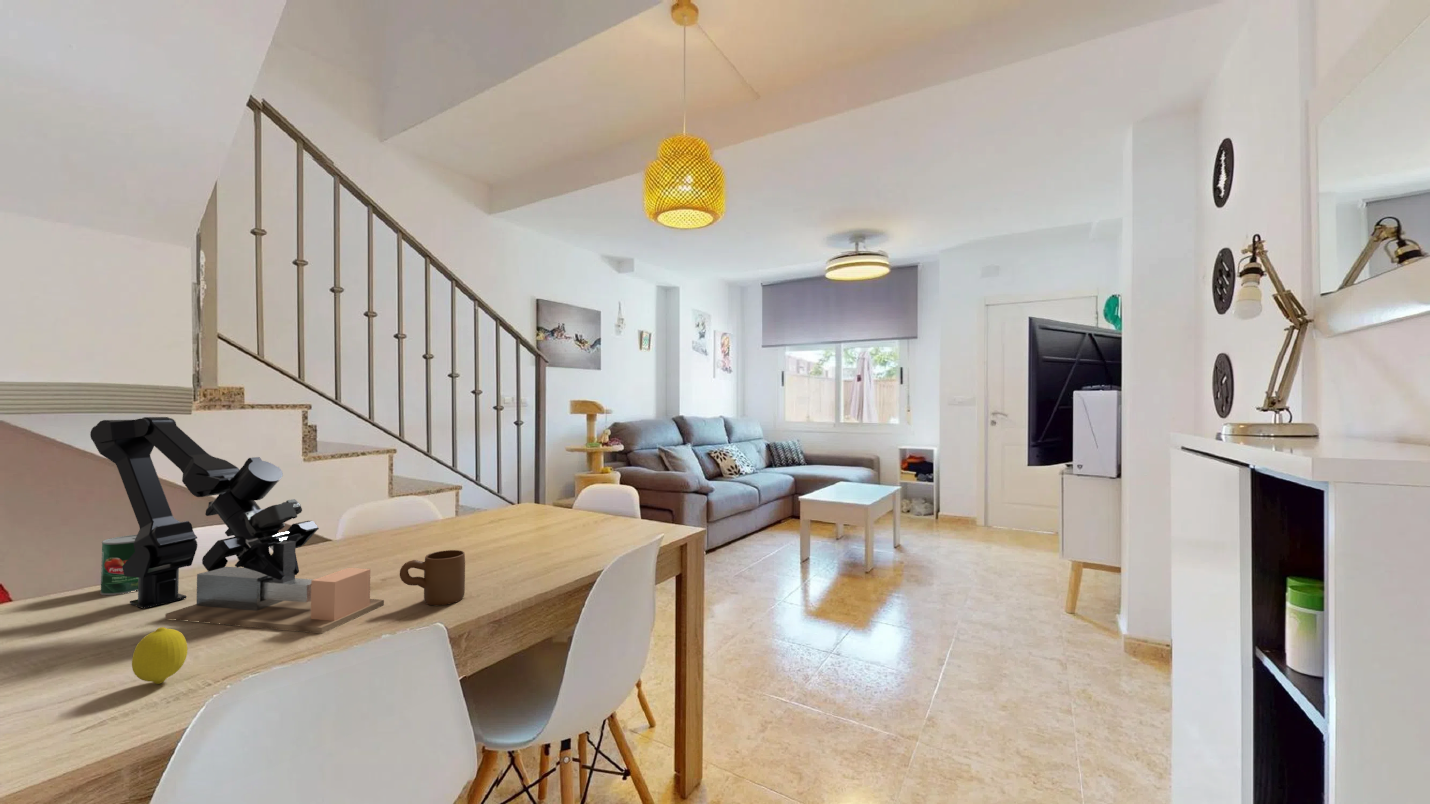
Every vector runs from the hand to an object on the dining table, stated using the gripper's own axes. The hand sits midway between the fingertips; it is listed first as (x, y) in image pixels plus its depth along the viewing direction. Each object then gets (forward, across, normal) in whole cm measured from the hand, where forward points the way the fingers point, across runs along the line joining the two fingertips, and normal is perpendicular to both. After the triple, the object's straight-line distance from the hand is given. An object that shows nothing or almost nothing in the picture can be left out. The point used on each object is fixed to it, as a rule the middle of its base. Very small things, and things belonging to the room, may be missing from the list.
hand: (289, 575), depth 103 cm
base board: (+3, 0, +7) cm, 7 cm away
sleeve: (-4, 0, +12) cm, 13 cm away
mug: (+22, +10, -11) cm, 26 cm away
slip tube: (-1, 0, +7) cm, 7 cm away
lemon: (+10, -26, 0) cm, 28 cm away
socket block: (+12, 0, -4) cm, 13 cm away
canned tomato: (-28, +5, +38) cm, 48 cm away
